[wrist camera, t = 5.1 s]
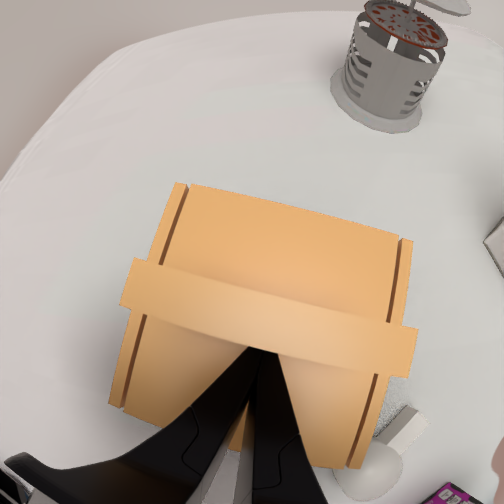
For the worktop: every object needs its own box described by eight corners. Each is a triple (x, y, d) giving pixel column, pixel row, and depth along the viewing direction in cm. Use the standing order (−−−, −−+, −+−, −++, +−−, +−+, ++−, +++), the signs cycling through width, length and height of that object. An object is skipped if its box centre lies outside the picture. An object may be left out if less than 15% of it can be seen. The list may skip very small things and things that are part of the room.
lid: (353, 460, 12) (417, 536, 5) (119, 399, 13) (20, 432, 6) (403, 248, 15) (489, 183, 7) (181, 193, 16) (131, 96, 9)
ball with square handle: (356, 495, 16) (366, 510, 14) (320, 466, 17) (326, 480, 15) (426, 427, 18) (442, 434, 15) (395, 394, 19) (410, 400, 16)
